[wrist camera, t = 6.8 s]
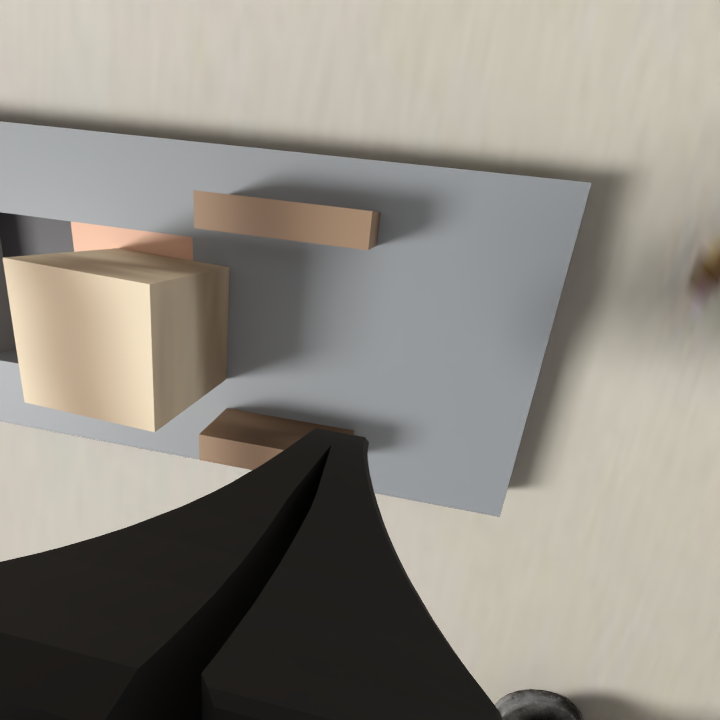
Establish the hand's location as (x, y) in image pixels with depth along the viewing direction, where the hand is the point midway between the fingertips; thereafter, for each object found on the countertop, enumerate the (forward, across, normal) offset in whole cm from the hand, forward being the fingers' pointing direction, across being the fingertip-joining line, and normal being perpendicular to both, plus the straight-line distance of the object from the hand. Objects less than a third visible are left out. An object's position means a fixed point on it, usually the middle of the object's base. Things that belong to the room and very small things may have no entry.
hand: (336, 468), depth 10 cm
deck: (+10, +7, -1) cm, 12 cm away
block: (+8, +9, -1) cm, 12 cm away
